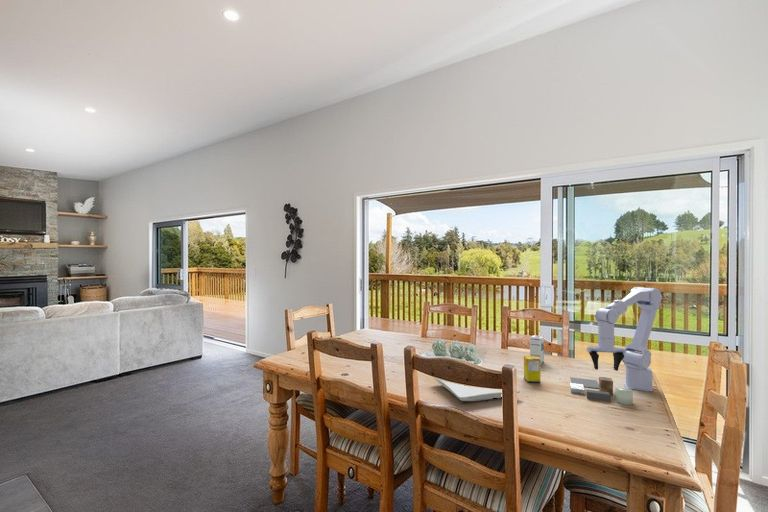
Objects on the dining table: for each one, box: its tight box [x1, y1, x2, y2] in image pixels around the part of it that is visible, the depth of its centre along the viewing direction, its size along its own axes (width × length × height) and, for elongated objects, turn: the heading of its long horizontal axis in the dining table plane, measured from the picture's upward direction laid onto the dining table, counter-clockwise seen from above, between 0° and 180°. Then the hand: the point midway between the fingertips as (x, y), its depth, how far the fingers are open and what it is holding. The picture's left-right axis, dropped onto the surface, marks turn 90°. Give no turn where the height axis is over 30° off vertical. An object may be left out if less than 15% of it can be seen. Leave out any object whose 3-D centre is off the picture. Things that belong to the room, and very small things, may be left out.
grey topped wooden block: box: [569, 382, 585, 395], centre depth 159 cm, size 7×5×2 cm
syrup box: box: [529, 335, 545, 366], centre depth 199 cm, size 6×6×14 cm
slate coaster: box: [569, 376, 599, 390], centre depth 168 cm, size 11×11×1 cm
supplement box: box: [523, 355, 542, 384], centre depth 172 cm, size 6×6×11 cm
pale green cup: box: [614, 386, 634, 406], centre depth 148 cm, size 6×6×5 cm
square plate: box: [434, 378, 520, 402], centre depth 160 cm, size 27×27×4 cm
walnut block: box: [598, 376, 614, 396], centre depth 157 cm, size 4×4×6 cm
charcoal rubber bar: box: [585, 388, 611, 402], centre depth 151 cm, size 8×3×3 cm, turn 67°
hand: (605, 369), depth 157 cm, fingers open, 7 cm apart
